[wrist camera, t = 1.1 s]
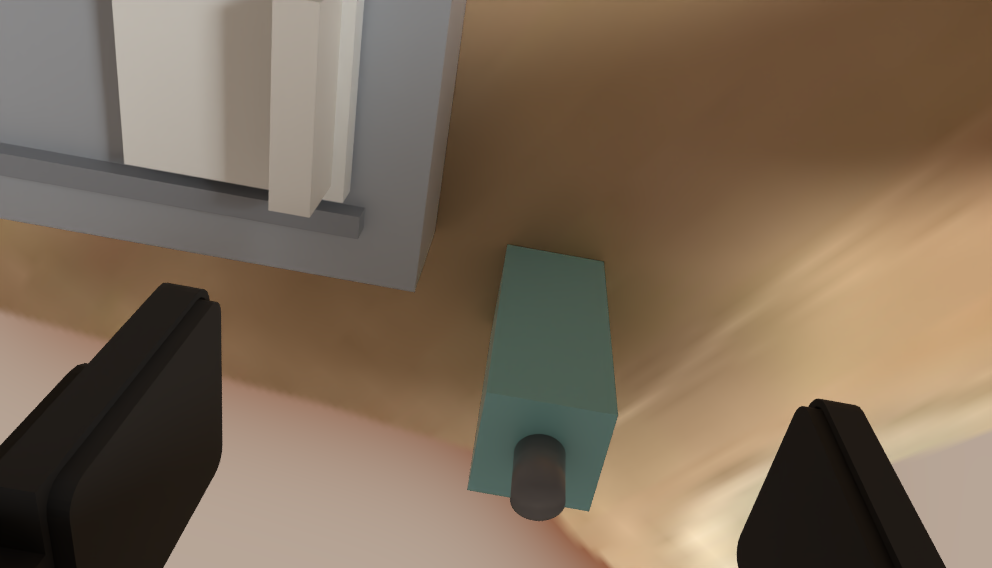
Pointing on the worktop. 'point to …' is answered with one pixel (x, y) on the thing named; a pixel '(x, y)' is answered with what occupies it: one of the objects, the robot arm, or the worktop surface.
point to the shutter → (243, 92)
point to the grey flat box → (216, 204)
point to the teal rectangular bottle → (546, 385)
